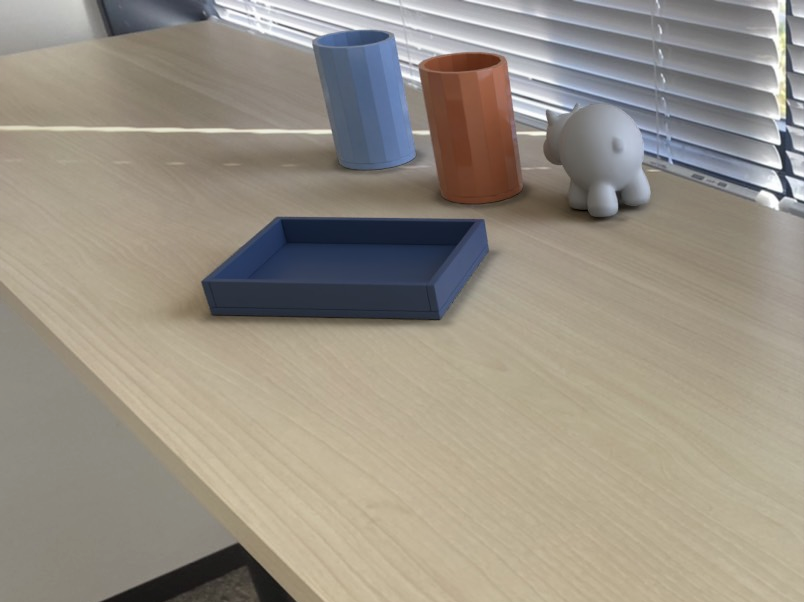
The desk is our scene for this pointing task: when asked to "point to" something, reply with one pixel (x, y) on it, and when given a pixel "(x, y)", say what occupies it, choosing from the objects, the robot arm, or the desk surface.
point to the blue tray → (349, 268)
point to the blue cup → (365, 98)
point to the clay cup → (472, 126)
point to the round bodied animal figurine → (598, 157)
